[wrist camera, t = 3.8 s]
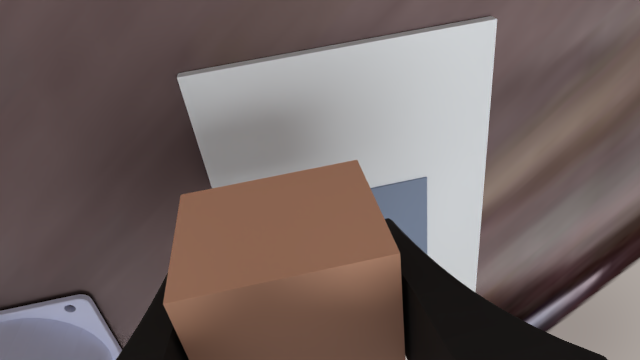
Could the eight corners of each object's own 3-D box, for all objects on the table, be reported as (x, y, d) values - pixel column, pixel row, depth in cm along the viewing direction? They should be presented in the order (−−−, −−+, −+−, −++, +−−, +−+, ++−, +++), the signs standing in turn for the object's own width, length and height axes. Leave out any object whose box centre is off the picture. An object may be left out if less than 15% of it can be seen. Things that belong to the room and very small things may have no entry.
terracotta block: (224, 315, 16) (223, 432, 12) (180, 194, 13) (162, 304, 9) (369, 283, 16) (406, 389, 12) (357, 159, 13) (400, 253, 10)
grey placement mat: (272, 373, 29) (273, 381, 29) (177, 73, 18) (176, 78, 18) (468, 328, 30) (472, 336, 30) (491, 15, 19) (498, 19, 19)
